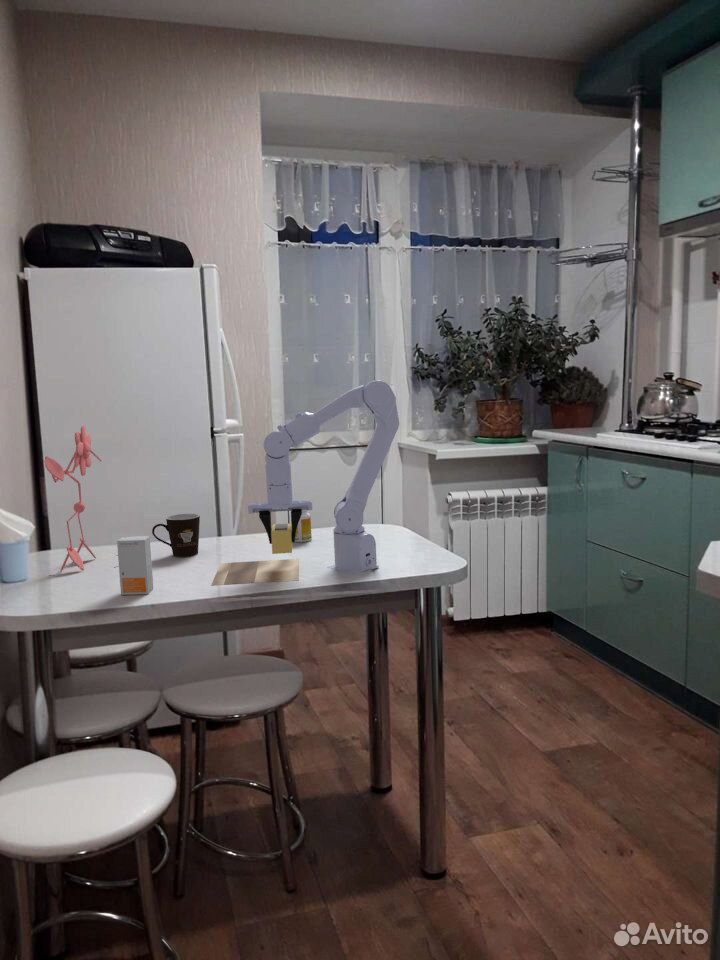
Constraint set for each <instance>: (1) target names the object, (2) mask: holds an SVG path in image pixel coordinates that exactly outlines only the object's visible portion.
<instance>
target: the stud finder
mask: <svg viewBox="0 0 720 960" xmlns="http://www.w3.org/2000/svg"><path fill="white" fill-rule="evenodd" d="M271 528H272V530H271V539H272V544H271V552H272V553H271V554H272V555H274V554H292V553H293V543H292V525H291V522H290V523H273V524H271Z"/></svg>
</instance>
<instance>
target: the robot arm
mask: <svg viewBox="0 0 720 960" xmlns="http://www.w3.org/2000/svg"><path fill="white" fill-rule="evenodd" d="M365 406H366V407H367V408H368V409H369V410H370V411H371V414H372V417H373V419H374V421H375V423H376V426H375V428H374V431H373V433H372V436H371V437H370V439H369V442H368V443H367V448H366V449H365V452H364V454H363V456H362V458H361V460H360V463H359V466H358V467H357V470H356V472H355V474H354V477H353V478H352V481H351V483H350V486H349V488H348V489H347V490H346V492H345V494H344V496H343V498H342V499H341V500H340V501H339V502H337V503H336V505H335V507H334V510H333V515H334V516H333V517H334V518H335V519H334V520H335V524H336V526H335V527H334V528H333V549H334V550H333V551H334V564H333V565H329V566H327V567H326V568H327V569H331V570H338V571H343V572H348V573H354V574H359V573H362V572H364V571H365V572H366V571H368V570H375V569H378V568H379V567H380V565H378V564H377V562H378V561H377V542H376V539H375V537H374V535H372V533H371V534H370V533H368V532H367V531H366V530H365V526H363V524H364V512H365V508H366V506H367V502H368V499H369V495H370V493H371V491H372V488H373V486H374V484H375V483H376V482H375V481H376V480H377V477H378V474H379V473H380V470H381V468H382V466H383V464H384V461H385V459H386V458H387V454H388V452H389V450H390V448H391V446H392V443H393V441H394V439H395V436H396V434H397V431H398V430H399V427H400V420H399V414H398V407H397V398H396V395H395V393H394V392H393V389H392V387H391V386H390V385H389V384H388V382H386V381H383V380H379V379H377V380H376V379H375V380H373V379H372V380H369V381H367V382H366V383H365V384H364V385H363V384H362V385H361V384H360V385H359V386H356V387H354V388H352V389H350V390H347V391H346V392H345V393H343V394H341V395H340V396H338V397H337V398H335V399H333V400H332V401H331V402H329V403H328V404H326V405H324V406H323V407H321V408H320V409H318V410H317V411H315V412H314V413H312V412H308V411H304V412H302V413H301V412H297V413H296V414H294V418H292V419H291V420H289V421H288V422H286V423H284V424H283V425H282V424H279V425H278V426H277V427H276V428H277V430H273V431H271V432H269V433H268V434H267V435H266V437H265V438H264V441H263V449H264V451H265V453H266V454H265V456H264V457H265V458H264V459H265V466H264V468H265V481H266V482H265V483H266V498H267V500H266V502H258V503H257V502H256V503H255V502H254V503H248V505H247V511H248V514H255V513H256V514H257V513H258V517H259V519H260V521H261V524H262V525H263V527H264V529H265V531H266V534H267V537H268V540H269V541H268V542H269V544H270V545H272V539H271V530H272V512H290V523H291V524H292V544H293V543H296V542H295V534H296V529H297V526H298V523H299V520H300V518H301V515H302V510H307V511H313V501H312V500H293V484H292V467H291V466H292V465H291V462H290V454H289V453H290V452H289V451H290V448H297V447H299V446H300V445H302V444H303V443H305V442H306V441H308V440H310V439H312V438H313V437H315V436H316V435H318V434H319V432H320V429H321V426H322V425H323V424H325V423H327V422H328V421H331V420H332V419H334V418H336V417H337V416H339V415H340V414H343V413H344V412H346V411H348V410H350V409H354V408H355V409H356V408H365Z"/></svg>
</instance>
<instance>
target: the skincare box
mask: <svg viewBox="0 0 720 960" xmlns="http://www.w3.org/2000/svg"><path fill="white" fill-rule="evenodd" d="M116 542H117V543H116V544H117V545H116V547H117V555H118V557H117V558H118V559H117V560H118V572H119V575H118V576H119V587H120V595H121V596H125V595H126V596H127V595H133V596H134V595H135V596H136V595H149V594H150V593H151V592H152V591H153V590H154V580H153V565H152V552H151V537H150V535H137V536H136V535H135V536H122V537H120V538H119V539H117V541H116Z"/></svg>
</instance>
